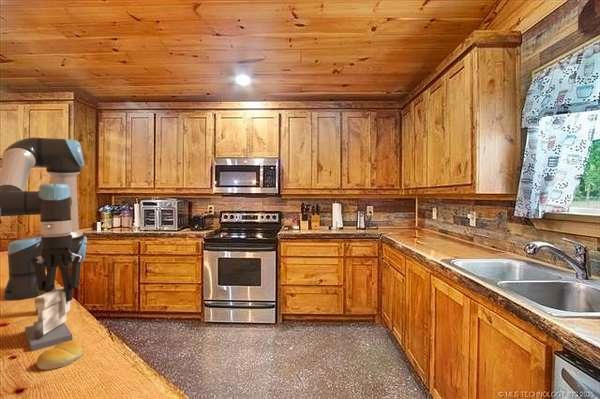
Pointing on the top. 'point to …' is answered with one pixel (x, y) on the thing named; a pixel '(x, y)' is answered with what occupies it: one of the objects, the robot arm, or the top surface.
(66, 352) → the bread roll
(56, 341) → the board
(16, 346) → the top surface
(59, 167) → the robot arm
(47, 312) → the gate
